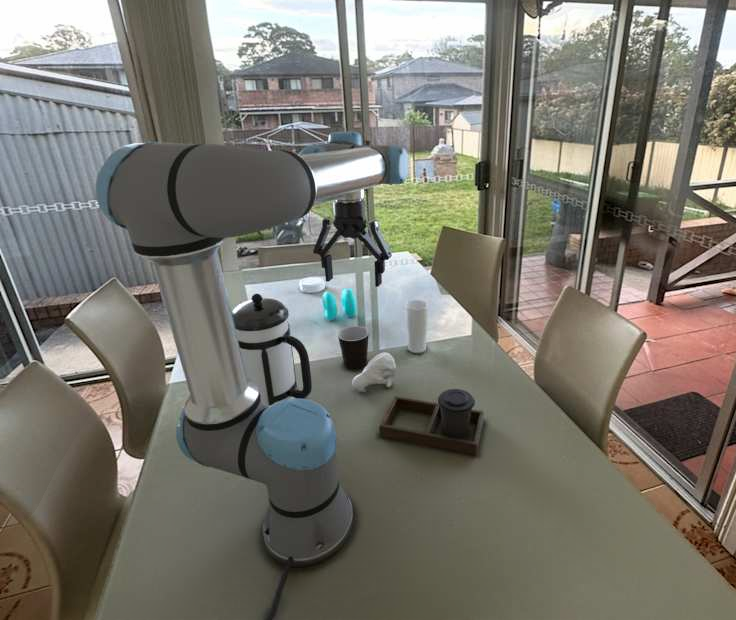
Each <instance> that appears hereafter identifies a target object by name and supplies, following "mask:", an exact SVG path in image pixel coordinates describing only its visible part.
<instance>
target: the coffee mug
mask: <svg viewBox="0 0 736 620" xmlns="http://www.w3.org/2000/svg"><path fill="white" fill-rule="evenodd" d="M369 336H370V332H369V330H368V328H366V327H365V326H360V325H351V326H347V327H343V328H341V329H340V330H339V331H338V332H337V338H338V342H339V343H338V344H339V347H340V353H341V357H342V362H343V367H344V368H345V369H347V370H349V371H359V370H362V369H364V368H365V367H366V366H367V365H368V350H369V338H370V337H369Z"/></svg>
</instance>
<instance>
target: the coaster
mask: <svg viewBox="0 0 736 620" xmlns="http://www.w3.org/2000/svg"><path fill="white" fill-rule="evenodd" d="M325 282H326V279H324V278H323V277H321V276H307V277H304V278H302V279H301V280H299V283H298V284H299V290H300V291H301V292H303V293H306V294H313V293H314V294H315V293H319V292H322V291H324V289H325V288H326V283H325Z"/></svg>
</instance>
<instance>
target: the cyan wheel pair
mask: <svg viewBox="0 0 736 620" xmlns="http://www.w3.org/2000/svg"><path fill="white" fill-rule="evenodd" d="M341 306H342V307H341V308H342V310H343V312H344V314H345V316H347V317H349V318H352V317H354V316H355V315H356V314H357V303H356V296H355V294H354V291H353V290H352V289H351V288H345V289H344V290H343V291H342V292H341ZM322 308H323V312H324V316H325V318H326V319H327V320H328V321H333V320H335V319H336V317H337V314H338V306H337V301H336V297H335V295H334V293H332V292H331V291H325V292H324V293H323V294H322Z"/></svg>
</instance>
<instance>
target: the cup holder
mask: <svg viewBox="0 0 736 620" xmlns="http://www.w3.org/2000/svg"><path fill="white" fill-rule="evenodd" d="M391 401H392V402H391V403H390V405H389V407H388V409H387V411H386V413H385V414H384V417H383V419H382V420H381V422H380V424H379V437H380V438H385V439H391V440H394V441H398V442H399V441H401V442H404V443H411V444H414V445H420V446H425V447H430V448H435V449H440V450H444V451H450V452H455V453H459V454H464V455H469V456H475V457H477V454H478V449H479V444H480V441H481V434H482V430H483V425H484V421H485V420H484V418H485V411H484V410H478V409H473V408H472V411H471V416H470V421H469V423H470V422H471V423H476V429H475V434H474V437H473V441H472V440H468V439H464V440H463V439H458V438H452V437H447V436H444V435H443V434H442V435H441V434H436V433H434V432H435V429H436V426H437V423H438V420H439V417H441V409H440V406H439V404H438V402H433V401H432V402H431V401H426V400H420V399H416V398H415V399H414V398H409V397H403V396H397V395H396V396H394V398H393V399H392V400H391ZM398 409H399V410H404V411H410V412H415V413H419V414H426V415H431V418H430V420H429V423H428V425H427V428H426V431H421V430H416V429H411V428H404V427H400V426H396V425H391V423H392V420H393V419H394V417H395V415H396V413H397V410H398Z"/></svg>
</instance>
